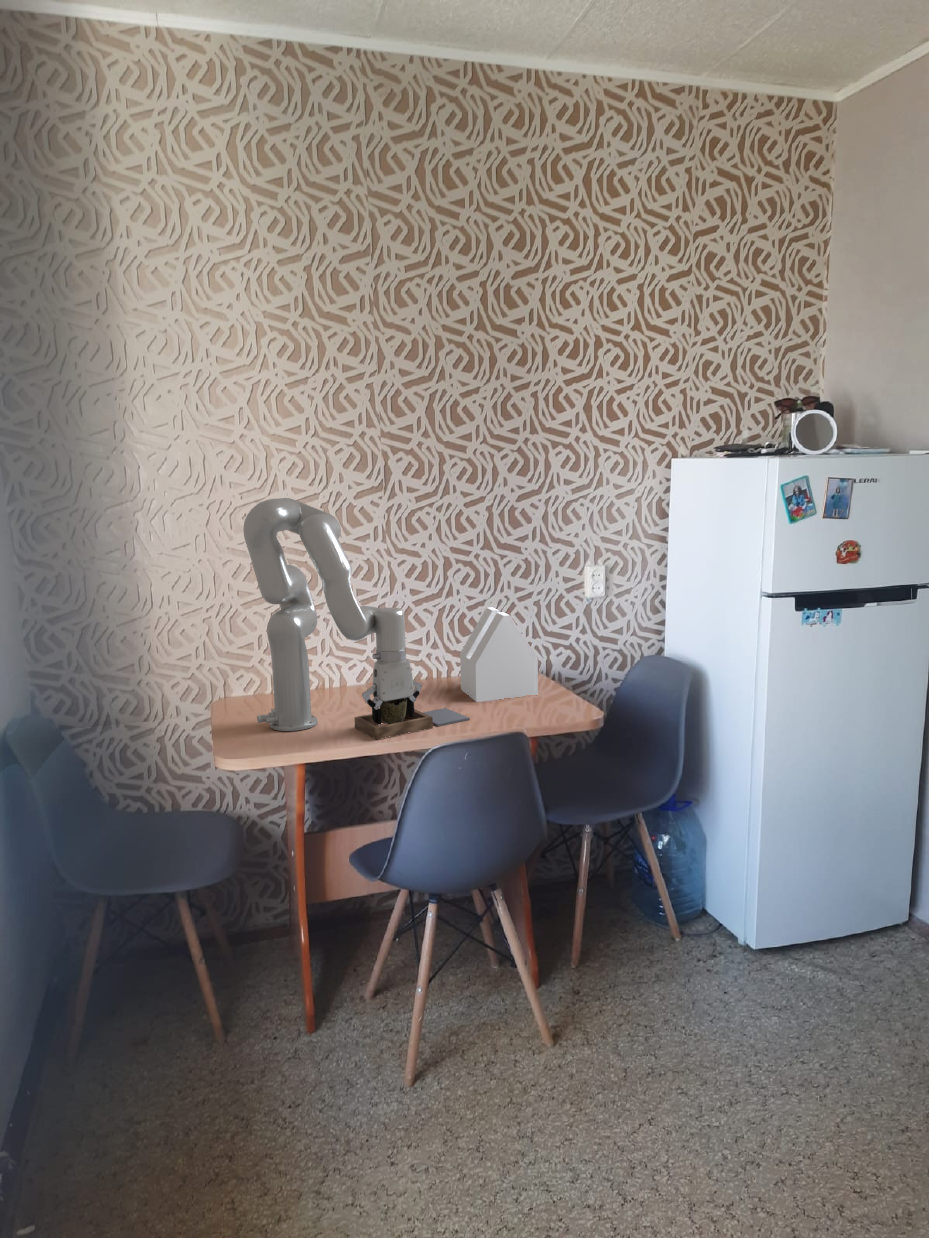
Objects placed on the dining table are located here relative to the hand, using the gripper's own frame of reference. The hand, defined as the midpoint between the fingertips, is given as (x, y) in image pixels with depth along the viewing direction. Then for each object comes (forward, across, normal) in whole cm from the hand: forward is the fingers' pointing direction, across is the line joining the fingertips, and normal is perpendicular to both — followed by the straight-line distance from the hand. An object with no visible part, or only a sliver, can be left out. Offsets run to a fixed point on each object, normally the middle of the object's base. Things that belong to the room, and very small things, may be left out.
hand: (393, 719), depth 221 cm
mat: (+2, +15, 0) cm, 15 cm away
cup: (+3, 0, 0) cm, 3 cm away
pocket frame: (+2, 0, 0) cm, 2 cm away
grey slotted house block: (+3, +43, +12) cm, 45 cm away
